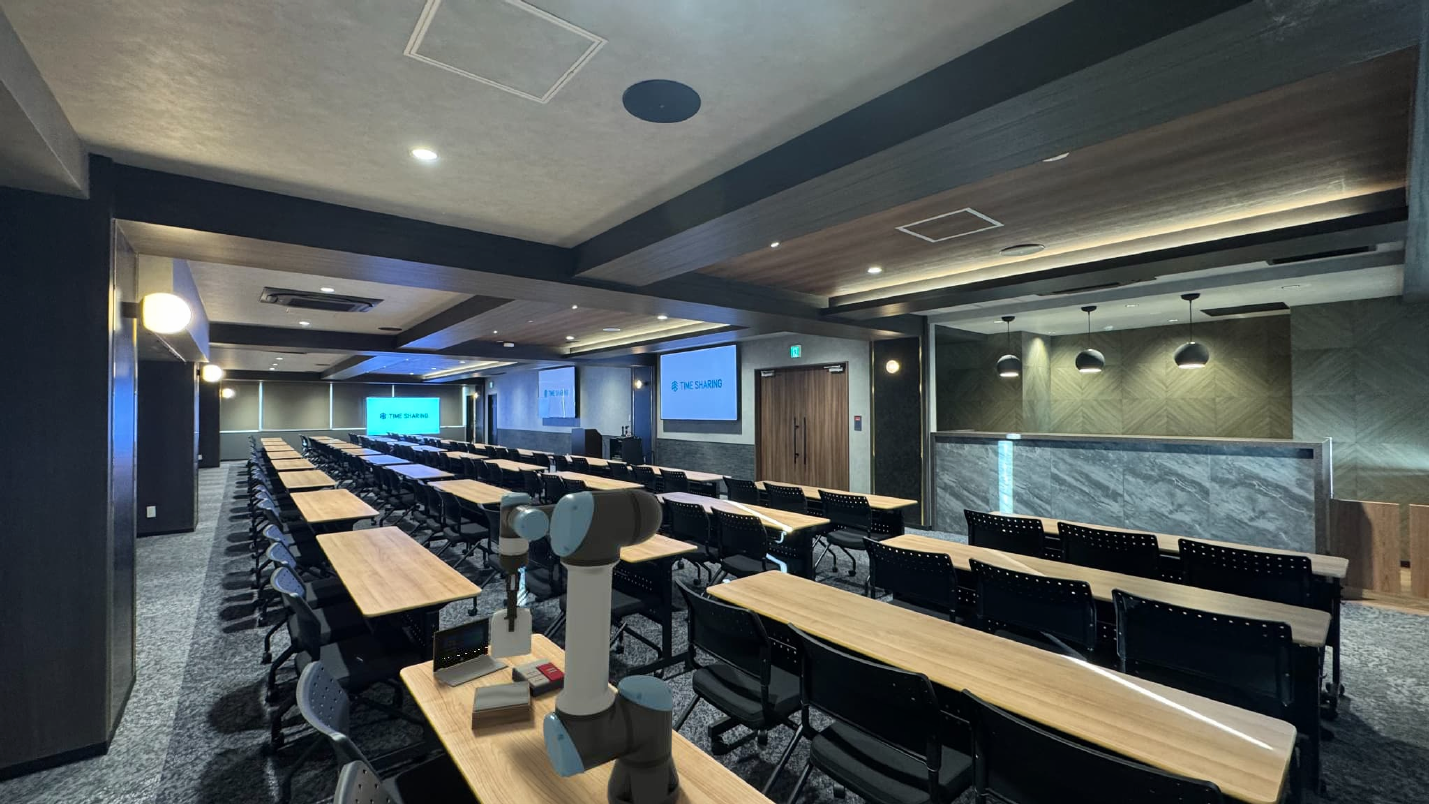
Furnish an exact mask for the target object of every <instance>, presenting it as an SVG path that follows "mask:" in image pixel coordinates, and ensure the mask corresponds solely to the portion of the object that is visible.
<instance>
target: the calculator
mask: <svg viewBox="0 0 1429 804" xmlns="http://www.w3.org/2000/svg"><path fill="white" fill-rule="evenodd" d="M511 680H512V681H513V683H514V682H521V681H529V689H530V698H537V697H540V696H543V695H546V694H549V693H551V692H554V691H557V690H560V689H561V690H562V689H564V671H562V670H561V669H560V668H558V667H557V666H556V665H555V664H554V663H553V662H551V661H550V660H549V659H548V658H547V657H544V658H540V659H537V660H534V661H529V662H527V663H523V664H521V665H517V666H514V667H513V668H512V670H511Z"/></svg>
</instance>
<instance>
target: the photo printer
mask: <svg viewBox="0 0 1429 804" xmlns="http://www.w3.org/2000/svg"><path fill="white" fill-rule="evenodd" d="M506 616H507V608H504V609H500V610H497V611H495V612H493V615H492V618H491V622H490V656H491V658H492V659H504V658H510V657H511V658H512V657H514V658H515V657H518V656H526V655H530V654H531V652H532V623H533V622H532V621H533V618H532V616H533V615H532V614H531V611H530V609H529V608H525V607H524V608H523V607H520V608H517V636H516V643H510V644H505V639H506V620H504V617H506Z"/></svg>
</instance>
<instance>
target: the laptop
mask: <svg viewBox="0 0 1429 804" xmlns="http://www.w3.org/2000/svg"><path fill="white" fill-rule="evenodd" d="M489 626H490V617H489V616H486V617H483V618H480V619H477V620H472V621H469V622H465V623H462V624H458V625H456V626H452V627H449V628H445V629H442V630H437V631H435V632H433V658H432V673H433V676H434V677H436V678H437V679H439V680H440V681H442V682H444V683H446V684H448V685H450V686H452V687H456V686H459V685H461V684H464V683H467V682H469V681H472V680H475V679H477V678H480V677H483V676H486V675H488V674H491V673H494V672H496V671H499V670H502V669H504V668H506V667H508V666H509V664H508V663H506V662H504V661H502V660H500V659H499V658H496V659H492V658H491V654H489V635H490V634H489V633H490V632H489V631H490V627H489ZM485 647H488V648H485ZM478 649H480V650H478ZM474 651H476V652H474ZM465 653H467V654H465ZM457 655H460V656H457ZM448 657H449V658H448ZM444 658H445V659H444Z"/></svg>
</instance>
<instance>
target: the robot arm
mask: <svg viewBox="0 0 1429 804" xmlns="http://www.w3.org/2000/svg"><path fill="white" fill-rule="evenodd" d="M531 505H532V502H531V496H530V494H529V493H527V492H509V493H504V494H503V495H502V496H501V498H500V507H499V510H500V513H499V515H500V516H499V517H500V518H499V535H498V537H499V538H498V552H499V554H498V567H499V568H500V569H503V570H508V571H506V572H505V577H504V578H505V580H504V581H505V592H506V593H507V599H506V600H507V601H506V609H507V616H506V617H504V620H506V639H505V644H510V643H516V636H517V608H521V607H520V605H518V592H519V591H520V586H521V585H520V583H521V580H522V571H521V570H519V569H523V568H526V567H527V566H528V565H529V554H530V553H529V551H528V550H529V549H530V547H529V546H530V545H529V543H530V542H532V541H537V540H539V539H541V538H543V537H545V536H549V538H550V539H551V540H550V545H551V549H552V551H553V553H554V554H555V555H557V556H560V559H559V560H560V564H562V566H563V567H564V568H565V569H566V570H567V585H566V586H567V587H566V613H565V617H566V620H565V643H564V644H565V646H564V669H563V670H564V671H563V673H564V688H562V689H561V691H560V692H558V694H557V695H556V697H555V701H554V703H555V706H554V711H550V712H549V713H548V714H546V715H545V716H544V718H543V722H542V723H543V724H542V729H543V730H542V733H543V740H544V744H545V748H546V752H547V756H548V758H549V761H550V763H551V765H552V766H553V767H552V768H553V769H554V771H555V772H556V773H557V774H558V775H559V776H560V777H563V778H570V777H573V776H577V775H579V774H581V775H583V774H585V772H587V771H589V770H593V769H595V768H598V767H600V766H603V765H605V764H607V763H611V762H613V761H614V764H613V767H612V769H611V772H610V775H609V779H608V782H607V788H606V789H607V794H606V798H607V801H608V804H674V803H676V802H677V801H676V800H678V799H677V798H679V795H680V778H679V774H678V770H677V767H676V765H675V764H676V763H675V761H674V757H673V751H672V750H673V747H672V745H673V717H674V716H673V714H674V713H673V711H674V698H673V690H672V687H671V686H670V685H669V683H667V682H666V681H664V680H663V679H660V678H658V677H654V676H651V675H645V674H643V675H642V674H641V675H640V674H637V675H636V674H635V675H630V676H626V677H624V678H622V679H620V681H619V682H618V685H617V687H616V689H617V692H615V690H613V688H611V686H609V671H610V670H609V669H610V667H609V666H610V665H609V664H610V643H611V642H610V639H611V617H612V616H611V614H612V613H611V612H612V610H611V609H612V584H613V582H612V581H613V568H614V567H616V565H617V564H619V562H620V561H621V549H622V548H626V547H632V546H636V545H640V544H643V543H645V542H647V541H649V540H650V539H651V538H653V537H654V536H655V535H656V533H657V532H658V531H659V529H660V527H661V524H662V523H663V522H662V521H663V511H662V507H661V505H660V502H659V501H658V500H657V498H656V497H655V496H654V495H653V494H651V493H650V492H648V491H645V490H644V489H643V490H642V489H637V488H623V489H609V490H592V491H591V490H590V491H589V490H588V491H581V492H575V493H574V492H573V493H568V494H565V495H564V496H563V497H561V498H560V499H559V501H558V502H557V504H549V505H548V504H547V505H537V506H534V505H533V506H531Z"/></svg>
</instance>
